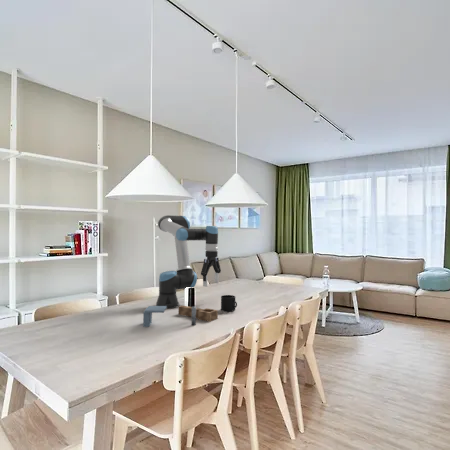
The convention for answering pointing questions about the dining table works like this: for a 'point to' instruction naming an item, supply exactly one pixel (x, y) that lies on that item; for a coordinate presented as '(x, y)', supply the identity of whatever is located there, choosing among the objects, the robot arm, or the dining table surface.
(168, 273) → the robot arm
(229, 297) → the mug
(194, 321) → the pintle
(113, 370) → the dining table surface
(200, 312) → the link
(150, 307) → the keeper
